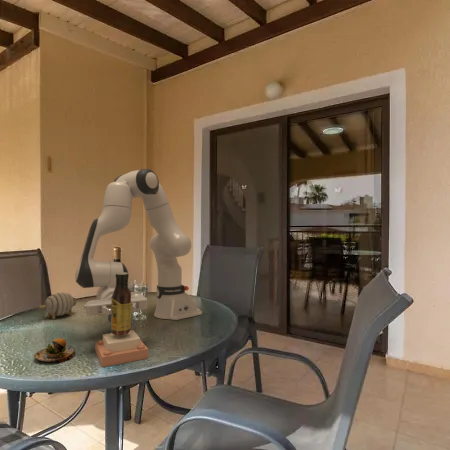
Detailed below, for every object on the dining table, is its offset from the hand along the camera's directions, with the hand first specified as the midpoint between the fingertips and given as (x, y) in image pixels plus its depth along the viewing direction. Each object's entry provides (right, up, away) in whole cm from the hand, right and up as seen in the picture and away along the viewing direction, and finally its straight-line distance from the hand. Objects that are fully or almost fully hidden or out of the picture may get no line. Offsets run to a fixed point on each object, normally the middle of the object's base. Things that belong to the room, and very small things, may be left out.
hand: (121, 310), depth 107 cm
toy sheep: (-43, -14, +43) cm, 63 cm away
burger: (-21, -15, -2) cm, 26 cm away
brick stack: (-1, -15, +1) cm, 15 cm away
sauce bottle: (-1, -8, +1) cm, 8 cm away
